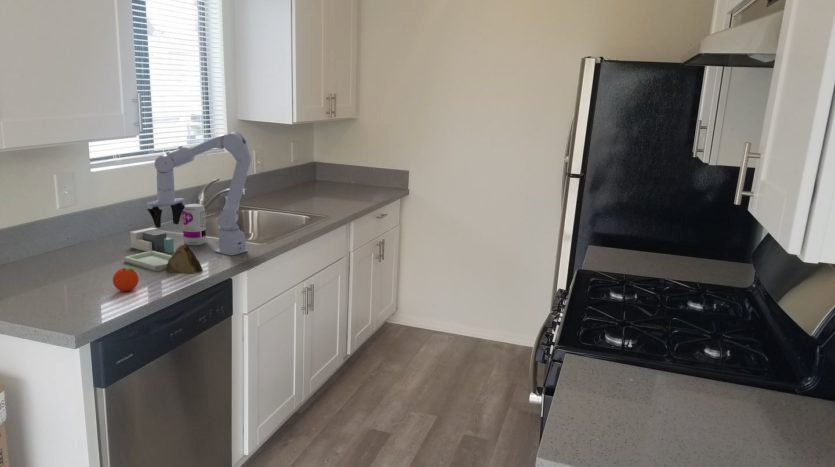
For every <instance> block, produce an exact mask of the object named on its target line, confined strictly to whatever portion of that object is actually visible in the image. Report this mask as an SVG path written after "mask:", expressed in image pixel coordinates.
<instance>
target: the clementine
mask: <svg viewBox="0 0 835 467" xmlns="http://www.w3.org/2000/svg"><path fill="white" fill-rule="evenodd" d="M136 271H137V272H140V274H142V272H141V271H140V270H138V269H137V268H133V267H123V268H120V269H117V271H116V272H115V273H114V274H113V276H112V283H113V286H114V287H115V288H116V289H117V290H119V291H121V292H130V291H132V290H134V289H135V288H136V287H137V286H138V283H139V275H138V273H137V272H136Z"/></svg>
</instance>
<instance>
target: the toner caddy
mask: <svg viewBox="0 0 835 467" xmlns="http://www.w3.org/2000/svg"><path fill="white" fill-rule="evenodd" d="M142 234H143V240H145V241H148V242H152V251H156V252H158V251H161V252H164V253H165V254H171V253H173V252H174V253H175V249H174V248H175V247H174V244H175V243H174V238H172V237H169V238H167V237H168V236H167V232H163V231H159V230H158V231H156V230H152V231H147V232H142Z"/></svg>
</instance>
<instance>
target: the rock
mask: <svg viewBox="0 0 835 467" xmlns="http://www.w3.org/2000/svg"><path fill="white" fill-rule="evenodd" d="M171 256H172V257H171V258H170V260H169V261H168V264H167V266H166V269H165V271H166V272H170V273H179V274H197V273H201V272H203V271H204V270H203V268H202V265H201V263H200V261H199V260H198V258H197V257H196V255H195V253H194V252H193V250H192V249H191V247H189V245H187V244H181V245H180V246H178V247H177V249H176V250H175V251H174V253H172V255H171Z"/></svg>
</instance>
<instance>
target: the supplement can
mask: <svg viewBox="0 0 835 467" xmlns="http://www.w3.org/2000/svg"><path fill="white" fill-rule="evenodd" d="M184 205H185V208H184V210H183V211H182V213H181V216H182V232H183V235H182V236H183V243H184V245H187V246H201V245H204V244H205V243H206V242H207V226H206V224H207V223H206V208H205V207H204V205H203V204H202V203H185V204H184Z"/></svg>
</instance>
